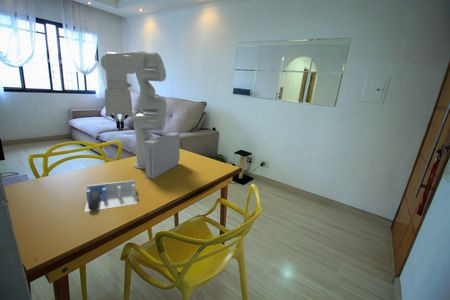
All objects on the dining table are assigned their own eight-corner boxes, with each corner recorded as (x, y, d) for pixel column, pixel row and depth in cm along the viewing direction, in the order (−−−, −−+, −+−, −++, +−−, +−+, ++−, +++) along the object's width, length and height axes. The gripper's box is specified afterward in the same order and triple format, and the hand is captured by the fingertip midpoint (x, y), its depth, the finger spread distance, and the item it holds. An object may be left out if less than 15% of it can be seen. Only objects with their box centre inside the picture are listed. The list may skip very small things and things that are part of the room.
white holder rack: (89, 193, 97) (88, 182, 96) (135, 187, 105) (134, 177, 104) (84, 212, 83) (82, 200, 82) (137, 204, 91) (136, 192, 90)
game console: (144, 177, 117) (142, 141, 111) (171, 161, 142) (171, 132, 136) (153, 179, 115) (152, 143, 109) (179, 163, 140) (179, 133, 134)
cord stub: (94, 198, 93) (89, 193, 91) (101, 194, 94) (97, 189, 92) (91, 211, 84) (86, 206, 83) (99, 207, 85) (95, 201, 84)
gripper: (136, 86, 94) (138, 127, 100) (97, 84, 88) (101, 128, 93) (137, 87, 88) (139, 131, 93) (95, 85, 82) (100, 132, 87)
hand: (120, 129), depth 93 cm, fingers closed
